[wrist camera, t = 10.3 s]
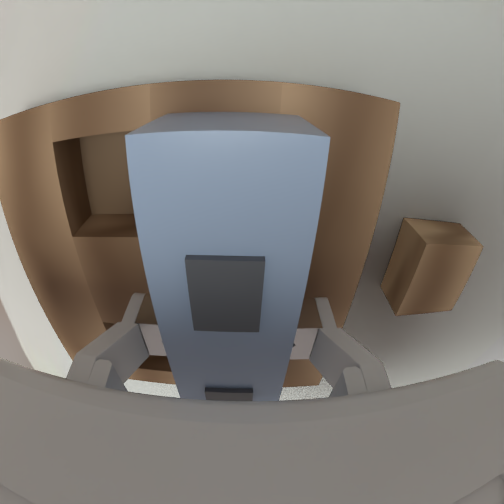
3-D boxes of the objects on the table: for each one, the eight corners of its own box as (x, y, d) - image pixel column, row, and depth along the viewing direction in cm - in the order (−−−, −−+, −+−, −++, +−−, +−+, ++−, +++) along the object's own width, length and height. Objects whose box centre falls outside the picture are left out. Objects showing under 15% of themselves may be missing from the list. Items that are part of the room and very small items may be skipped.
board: (366, 95, 10) (400, 102, 8) (311, 348, 19) (318, 385, 16) (25, 111, 9) (-14, 125, 7) (91, 337, 18) (78, 369, 16)
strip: (290, 110, 9) (333, 139, 5) (264, 357, 17) (269, 436, 13) (179, 108, 9) (121, 137, 5) (200, 355, 17) (192, 434, 13)
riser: (459, 223, 14) (483, 246, 12) (434, 284, 16) (451, 310, 14) (403, 217, 13) (426, 243, 11) (380, 286, 16) (395, 316, 14)
